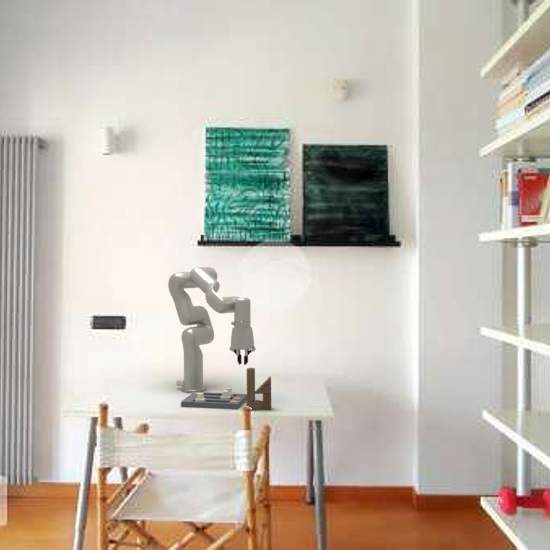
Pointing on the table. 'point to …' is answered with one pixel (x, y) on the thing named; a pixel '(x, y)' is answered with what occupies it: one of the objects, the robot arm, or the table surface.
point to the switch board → (214, 401)
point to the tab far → (230, 391)
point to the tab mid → (225, 395)
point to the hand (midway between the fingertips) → (242, 363)
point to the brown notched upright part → (258, 392)
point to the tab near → (200, 398)
